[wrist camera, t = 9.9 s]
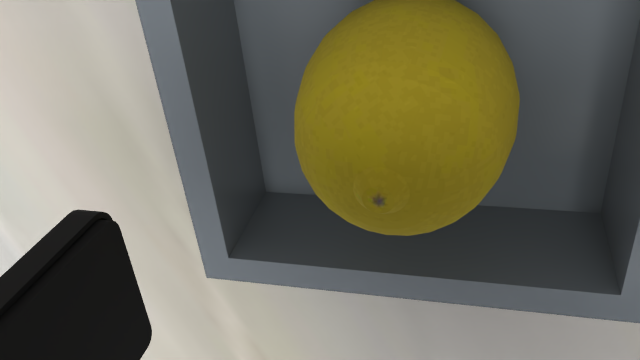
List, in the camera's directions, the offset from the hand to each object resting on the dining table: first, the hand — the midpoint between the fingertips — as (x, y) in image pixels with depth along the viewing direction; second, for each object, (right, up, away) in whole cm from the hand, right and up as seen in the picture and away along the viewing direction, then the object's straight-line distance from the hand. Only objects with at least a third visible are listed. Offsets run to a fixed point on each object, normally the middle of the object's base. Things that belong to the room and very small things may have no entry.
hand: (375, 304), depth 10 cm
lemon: (+2, +6, +9) cm, 11 cm away
